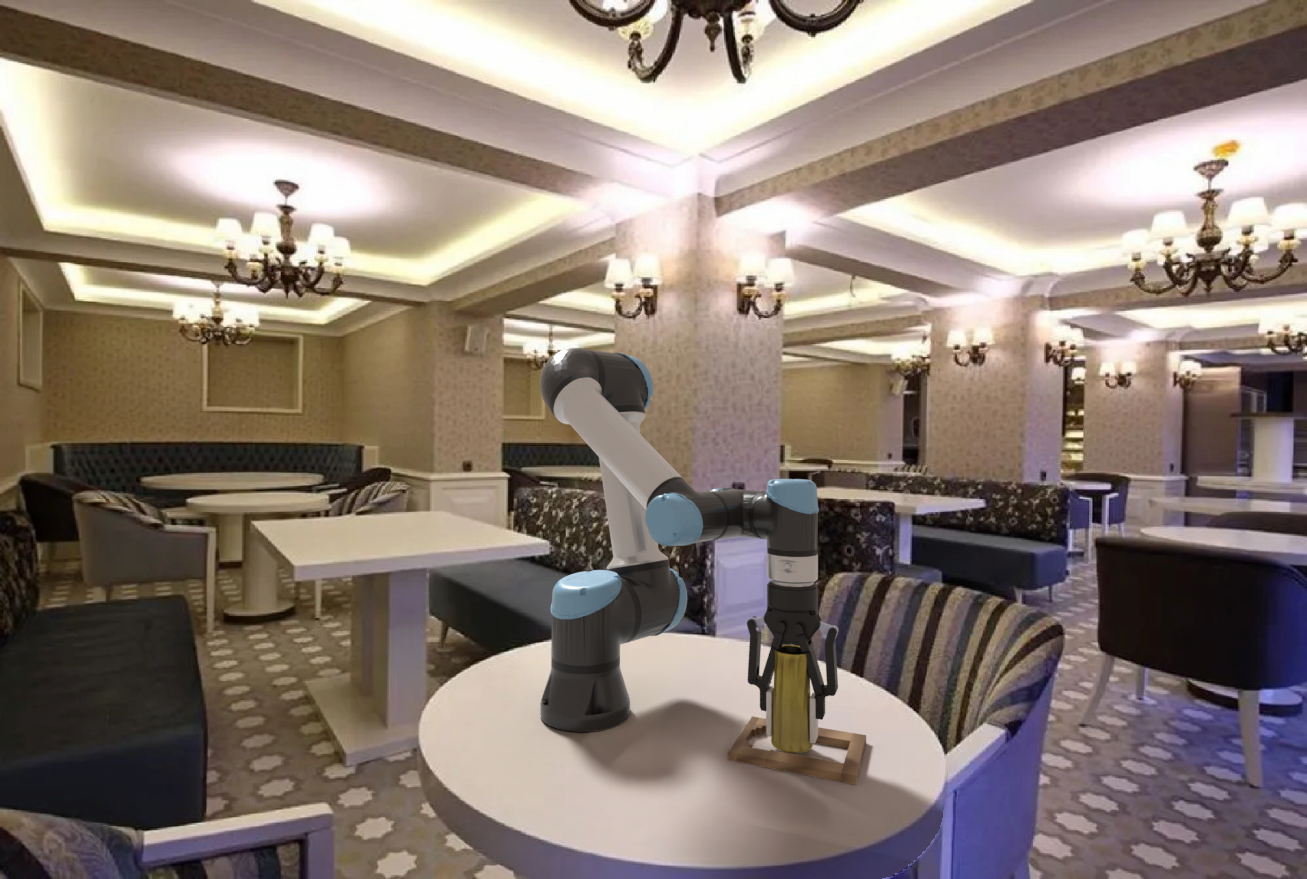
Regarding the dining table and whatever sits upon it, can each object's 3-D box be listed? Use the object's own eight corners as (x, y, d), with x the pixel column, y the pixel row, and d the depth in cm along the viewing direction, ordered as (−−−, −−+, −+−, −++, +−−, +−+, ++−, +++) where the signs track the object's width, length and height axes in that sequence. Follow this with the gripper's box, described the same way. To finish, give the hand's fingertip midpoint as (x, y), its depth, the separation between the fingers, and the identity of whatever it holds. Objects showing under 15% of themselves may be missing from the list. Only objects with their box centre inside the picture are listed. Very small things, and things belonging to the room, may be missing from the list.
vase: (813, 755, 99) (813, 657, 99) (770, 751, 100) (770, 654, 100) (812, 738, 105) (812, 645, 105) (771, 734, 106) (771, 642, 106)
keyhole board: (728, 759, 99) (728, 751, 99) (752, 723, 112) (752, 716, 112) (856, 784, 92) (856, 775, 92) (866, 742, 105) (866, 735, 105)
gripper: (725, 581, 103) (724, 734, 102) (853, 591, 95) (853, 757, 95) (738, 572, 110) (738, 716, 109) (859, 582, 102) (859, 736, 102)
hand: (792, 735), depth 102 cm, fingers closed on vase, 6 cm apart
